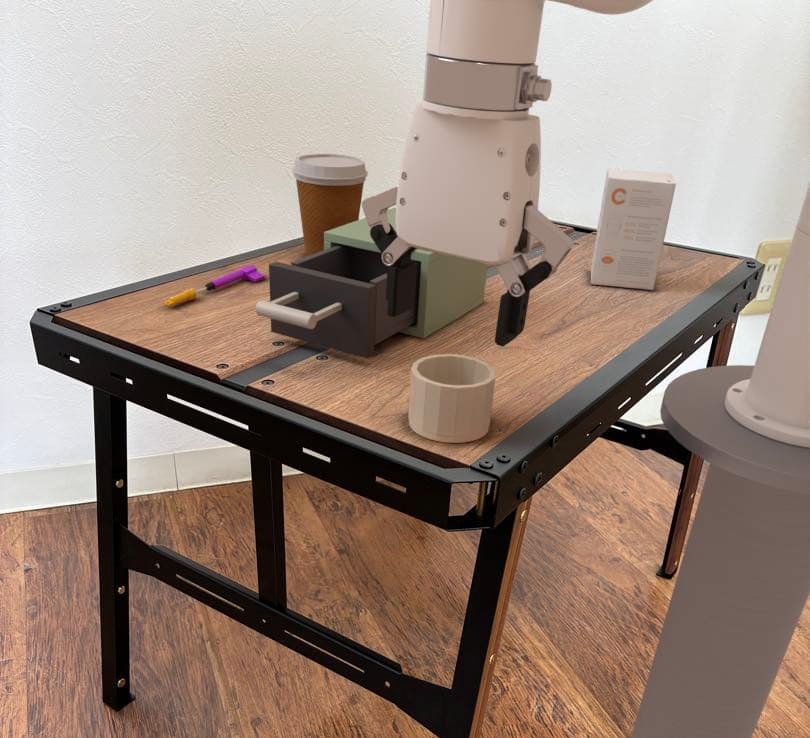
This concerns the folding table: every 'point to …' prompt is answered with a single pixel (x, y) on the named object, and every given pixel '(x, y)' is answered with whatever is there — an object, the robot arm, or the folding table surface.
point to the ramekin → (451, 398)
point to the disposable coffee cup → (327, 194)
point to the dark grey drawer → (335, 300)
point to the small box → (631, 228)
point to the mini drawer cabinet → (426, 278)
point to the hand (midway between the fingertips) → (451, 326)
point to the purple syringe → (218, 284)
